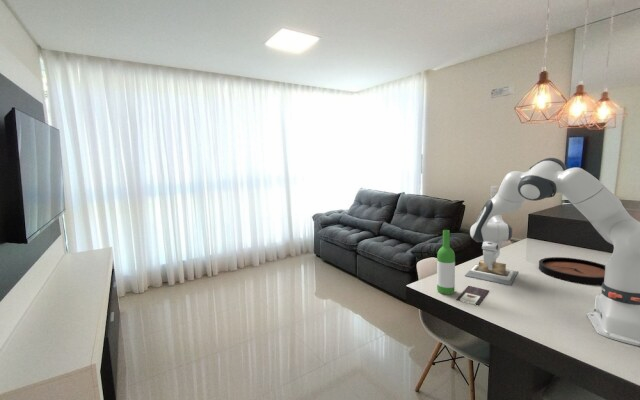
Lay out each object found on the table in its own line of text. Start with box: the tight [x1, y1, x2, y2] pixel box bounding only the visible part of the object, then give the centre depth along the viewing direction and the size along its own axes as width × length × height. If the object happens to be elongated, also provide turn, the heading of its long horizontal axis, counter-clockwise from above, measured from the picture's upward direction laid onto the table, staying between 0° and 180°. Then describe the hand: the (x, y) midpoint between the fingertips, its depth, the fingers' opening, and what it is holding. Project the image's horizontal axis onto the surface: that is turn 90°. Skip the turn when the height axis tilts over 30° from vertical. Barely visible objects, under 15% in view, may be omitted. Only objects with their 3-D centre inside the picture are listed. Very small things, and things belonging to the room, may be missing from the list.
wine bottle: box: [436, 229, 456, 295], centre depth 140 cm, size 8×8×30 cm
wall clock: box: [538, 256, 605, 286], centre depth 157 cm, size 31×4×31 cm
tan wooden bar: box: [478, 259, 507, 275], centre depth 160 cm, size 12×4×4 cm, turn 49°
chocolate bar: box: [456, 285, 490, 306], centre depth 137 cm, size 9×1×18 cm
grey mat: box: [464, 263, 519, 286], centre depth 161 cm, size 22×21×2 cm
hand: (491, 268), depth 160 cm, fingers closed on tan wooden bar, 4 cm apart
